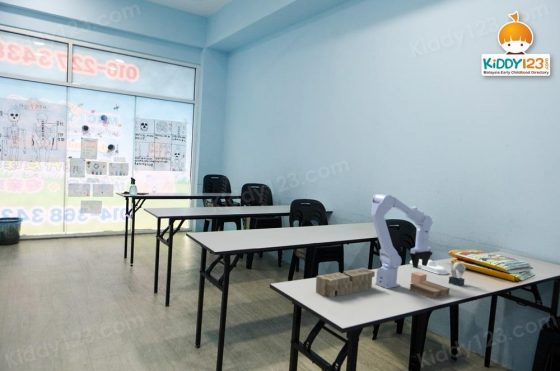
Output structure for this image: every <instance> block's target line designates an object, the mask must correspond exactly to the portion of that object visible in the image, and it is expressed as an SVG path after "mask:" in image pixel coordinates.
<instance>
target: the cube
mask: <svg viewBox="0 0 560 371" xmlns="http://www.w3.org/2000/svg"><path fill="white" fill-rule="evenodd" d="M427 275H428V274H426V273H424V272H421V271H415V272H411V276H410V284H413V283H418V282H422V281H427Z"/></svg>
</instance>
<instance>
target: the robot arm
mask: <svg viewBox="0 0 560 371" xmlns="http://www.w3.org/2000/svg"><path fill="white" fill-rule="evenodd" d="M393 208H395V209H398V210H399V211H401V212H402V213H404V215H405V217H406V218H408V219H409V220H411V221H412V222H414V223H415V225H416V232H415V234H416V235H415V246H414V247H412V248H410V251H409V252H408V254H409V256H410V259H411V261H412V264H413V265H412V267H413V268H415V269H418V263H419V259H421V260H422V265H424V266H427V263H428V261H429V260H430V259H431V256H432V255H433V251H432V246H429V238H430V237H429V236H430V230H431V227H432V226H433V223H434V222H433V219H432V218H431V216H430V215H427V214H425V212H423V211H420V210H418V207H416V206H410V207H409V206H407V204H405V203H403V202H402V201H401V200H399V199H398V197H395V196H392V195H391V194H385V193H375V194H374V195H373V197H372V199H371V210H370V212H371V213H370V214H371V219H372V222H373V226H374V228H375V232H376V235H377V239H378V241H379V244H380V245H379V246H380V249H379V260H380V262H381V265H382V266H381V267H379V268H377V270H376V279H375V280H376V281H375V282H374V284H375V285H377V286H380V287H383V288H385V289H391V288H396V287H400V286H401V284H399V283H398V282H397V280H398V271H399V270H398V269H399V267H400V266H401V264H402V257H401V256H400V255H399V252H398V251H397V250H396V248H395V246H393V242H392V238H391V236H390V235H391V234H390V232H389V228H388V225H387V222H386V219H385V215H386V214H387V213H388V212H389V211H390V210H391V209H393ZM419 253H420V254H419Z"/></svg>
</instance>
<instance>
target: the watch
mask: <svg viewBox="0 0 560 371" xmlns="http://www.w3.org/2000/svg"><path fill="white" fill-rule="evenodd" d="M466 269H467V267H466V265H465V264H464V263H462V262H460V261H454V263H453V264H452V266H451V270H450V272H451V276H448V284H450V285H454V286H457V287H461V286H465V278H463V275H464V273H465V271H466ZM456 270H457V271H456ZM457 272H458V273H457Z"/></svg>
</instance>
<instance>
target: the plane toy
mask: <svg viewBox="0 0 560 371" xmlns="http://www.w3.org/2000/svg"><path fill="white" fill-rule="evenodd" d="M409 265H412V266H413V264H412V260H410V261H409ZM417 269H421V270H424V271H428V272H430V273H433V274H436V275H448V274H449V273H448V270H447V269H446V268H445V267H444V266H441V265H438V264H436V263H435V261H434V260H432V259H429V261H428V263H427V266H424V265H422V258H420V259H419V263H418V267H417Z"/></svg>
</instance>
